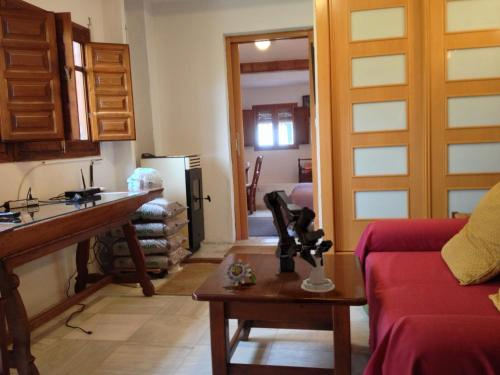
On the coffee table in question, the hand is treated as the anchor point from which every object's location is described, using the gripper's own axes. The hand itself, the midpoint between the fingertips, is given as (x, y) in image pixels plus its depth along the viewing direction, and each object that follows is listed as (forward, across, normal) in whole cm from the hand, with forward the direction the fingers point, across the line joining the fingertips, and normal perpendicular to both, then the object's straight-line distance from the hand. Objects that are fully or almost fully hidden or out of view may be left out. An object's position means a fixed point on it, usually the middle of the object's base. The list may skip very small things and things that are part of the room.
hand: (319, 266), depth 169 cm
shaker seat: (+5, 0, +7) cm, 9 cm away
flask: (+4, 0, +6) cm, 7 cm away
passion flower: (-9, -24, +22) cm, 34 cm away
